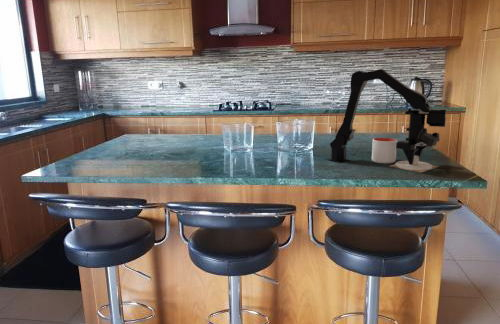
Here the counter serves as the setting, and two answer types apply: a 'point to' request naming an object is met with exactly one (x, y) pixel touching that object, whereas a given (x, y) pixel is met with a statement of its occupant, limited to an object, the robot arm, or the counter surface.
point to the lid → (414, 165)
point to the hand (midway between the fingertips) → (413, 163)
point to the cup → (384, 150)
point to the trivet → (415, 171)
